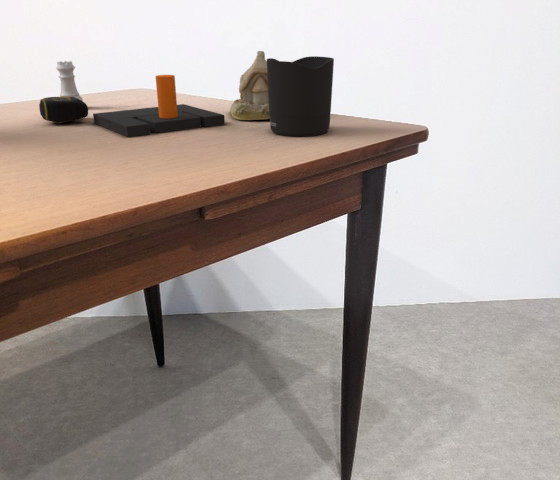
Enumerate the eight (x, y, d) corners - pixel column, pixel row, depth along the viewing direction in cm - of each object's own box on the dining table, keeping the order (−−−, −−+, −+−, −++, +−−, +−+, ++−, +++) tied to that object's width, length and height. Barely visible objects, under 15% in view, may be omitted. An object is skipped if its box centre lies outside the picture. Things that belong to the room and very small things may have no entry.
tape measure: (91, 123, 96) (87, 99, 95) (46, 127, 93) (42, 102, 92) (80, 117, 102) (77, 94, 100) (38, 121, 99) (34, 97, 97)
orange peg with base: (155, 133, 88) (150, 79, 85) (137, 126, 93) (132, 75, 90) (201, 127, 92) (198, 75, 89) (182, 121, 97) (178, 72, 94)
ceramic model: (232, 107, 109) (230, 48, 105) (294, 107, 109) (294, 47, 105) (225, 121, 96) (222, 55, 92) (296, 121, 96) (296, 54, 92)
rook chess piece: (54, 108, 110) (47, 61, 107) (77, 105, 113) (71, 60, 110) (65, 111, 107) (57, 63, 104) (88, 108, 110) (82, 61, 107)
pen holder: (279, 124, 94) (278, 55, 90) (338, 127, 91) (340, 56, 87) (259, 135, 86) (257, 61, 82) (323, 139, 83) (324, 62, 79)
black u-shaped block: (127, 137, 86) (126, 126, 85) (94, 123, 96) (92, 113, 96) (225, 124, 94) (224, 114, 94) (184, 112, 105) (183, 104, 104)
